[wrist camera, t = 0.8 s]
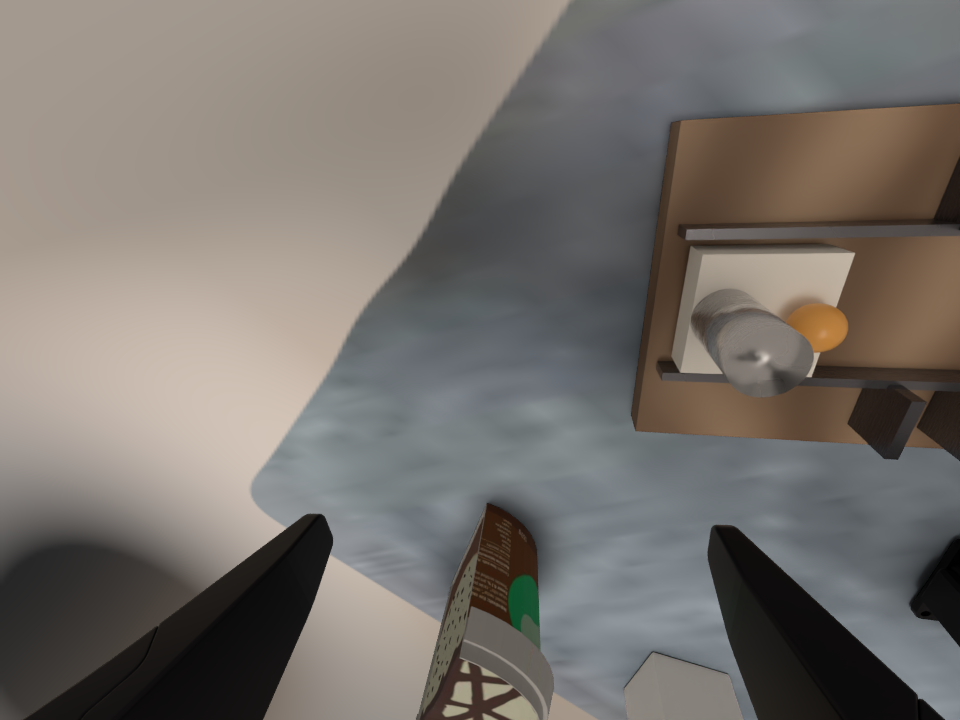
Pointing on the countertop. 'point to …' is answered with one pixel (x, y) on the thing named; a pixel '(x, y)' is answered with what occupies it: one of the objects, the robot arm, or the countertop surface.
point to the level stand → (868, 287)
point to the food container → (491, 632)
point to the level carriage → (760, 313)
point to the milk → (680, 692)
